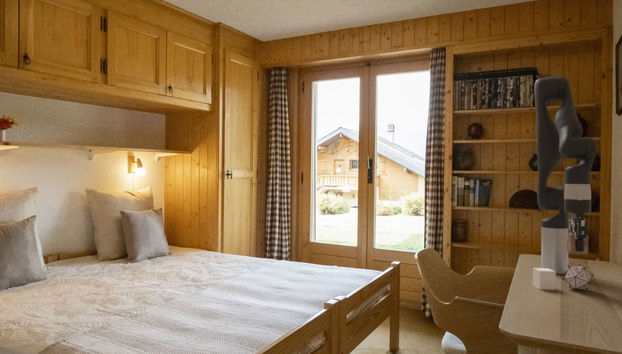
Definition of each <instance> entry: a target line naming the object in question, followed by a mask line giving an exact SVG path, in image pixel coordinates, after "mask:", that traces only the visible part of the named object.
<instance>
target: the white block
mask: <svg viewBox="0 0 622 354" xmlns="http://www.w3.org/2000/svg"><path fill="white" fill-rule="evenodd" d="M556 275H557V273H556V271H553V270H551V269H549V268H541V267H533V268H532V286H533V287H535V288H536V289H538V290H550V291H551V290H552V291H554V290H556V288H557V287H556V283H557V282H556V281H557V280H556V279H557V276H556Z"/></svg>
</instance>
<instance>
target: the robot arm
mask: <svg viewBox="0 0 622 354" xmlns="http://www.w3.org/2000/svg"><path fill="white" fill-rule="evenodd" d="M533 90H534V91H533V93H534V103H535V104H534V105H535V113H536V114H535V115H536V153H537V154H536V156H537V157H536V158H537V192H536V196H537V197H536V199H537V200H536V202H537V206H538V208H539V209H540V210H546V211H547V210H548V211H558V213H557V214H555V215H554V216H551V217H548V218H547V217H546V218H543V219H542V220H541V223H540V224H541V225H540V226H541V229H540V232H541V234H540V235H541V236H540V241H541V242H540V243H541V245H540V247H541V250H540V253H541V256H540V257H541V259H540V260H541V261H540V268H549V269H551V270H553V271H556V274H559V275H560V274H562V275H565V274H566V273H565V271H566V272H567V270H568V268H569V267H568V266H567V265H569V252H567V233H572V234H575V239H577V240H575V250H576V251H580V252H583V251H584V240H585V239H586V237H587V236H586V235H587V231H588V220H586V218H585V215H584V214H590V213H591V212H592V189H591V171H592V166H593V164H594V159H595V157H596V154H597V150H598V144H597V142H596V140H595V139H594V138H593V137H587V136H583V132H584V131H583V127H582V125H581V122H580V120H579V118H578V115H577V112H576V110H575V109H576V108H575V103H574V99H573V94H572V90H571V85H570V83H569V80H568V79H567V77H566V76H563V75H562V76H561V75H560V76H559V75H558V76H551V77H543V78H538V79H537V80H535V83H534V89H533ZM555 102H561V104H560V107H559V109H558V110H557V112H556V114H555V116H554V120H553V119H552V117H551V116H550V113H549V111H548V108H547V107H548V106H547V103H555ZM582 136H583V137H582ZM562 158H565V159H569V160H570V159H573V160H575V159H578V160H580V161H579V163H578V164H576V165H571V166H567V167H566V168H565V171H564V175H565V176H564V186H550V185H549V186H548V184H547V183H548V180H549V178H550V176H551V174H552V172H553V171H554V170H555V168H556V167H557V165H558V164H559V162H561V160H562ZM569 213H570V216H569Z"/></svg>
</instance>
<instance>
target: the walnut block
mask: <svg viewBox="0 0 622 354" xmlns="http://www.w3.org/2000/svg"><path fill="white" fill-rule="evenodd" d="M586 236H587V237H586V239H585V240H584V251H583V252H580V251H576V250H575V240H577V239H575V234H572V233H569V232H568V233H567V252H568V254H574V255H576V254H577V255H578V254H579V255H588V254H589V235H586Z"/></svg>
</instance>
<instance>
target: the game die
mask: <svg viewBox="0 0 622 354" xmlns="http://www.w3.org/2000/svg"><path fill="white" fill-rule="evenodd" d="M567 266H568V270H567V272H566V271H565V273H564V277H563V278H561V281H565V282H566V283H567V284H568V286H569V288H573V289H574V291H575V292H577V291H578V289H585V290H587V291H588V290H589V289H588V285H589V284H592V282H591V278H592V277H594V276H595V275H594V274H591V273H590V272H589V271H588V270H587V266H584V267H582V266H581V264H580V263H578V265H575V266H570V264H568V265H567Z"/></svg>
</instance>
